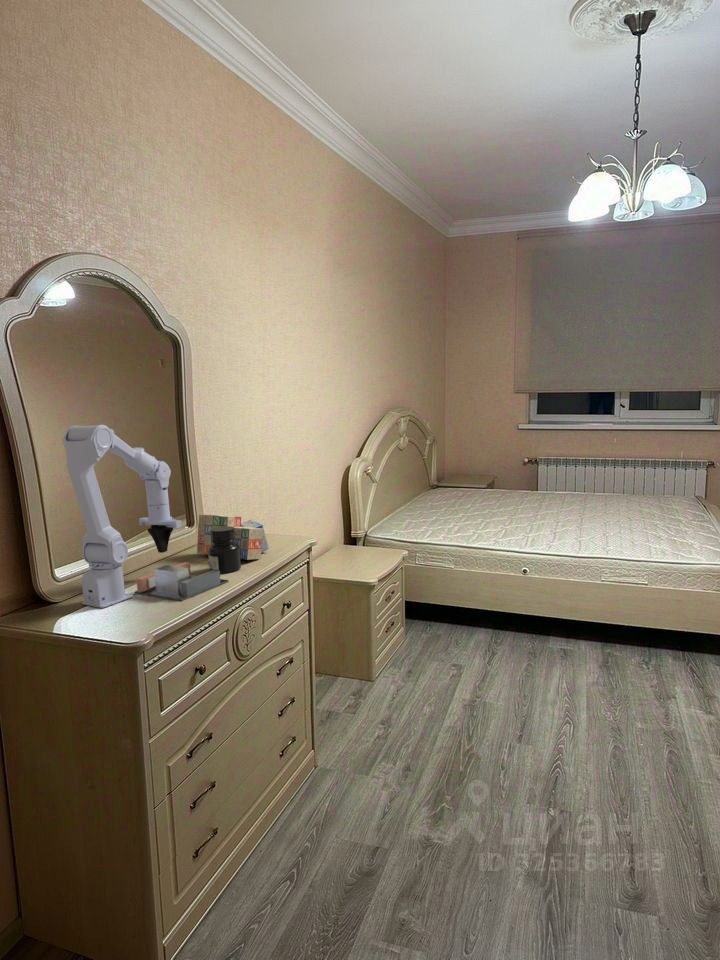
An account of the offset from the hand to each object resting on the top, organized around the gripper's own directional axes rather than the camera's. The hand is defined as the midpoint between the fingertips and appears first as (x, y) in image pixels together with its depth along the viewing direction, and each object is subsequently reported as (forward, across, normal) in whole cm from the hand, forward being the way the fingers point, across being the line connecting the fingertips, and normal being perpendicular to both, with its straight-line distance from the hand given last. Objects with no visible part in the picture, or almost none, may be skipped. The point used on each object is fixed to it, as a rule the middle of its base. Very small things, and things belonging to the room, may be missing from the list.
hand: (162, 551), depth 187 cm
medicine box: (+6, -8, -32) cm, 33 cm away
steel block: (+6, -14, +11) cm, 19 cm away
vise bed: (+7, -13, +6) cm, 16 cm away
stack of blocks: (+7, -4, -22) cm, 23 cm away
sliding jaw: (+6, -7, +6) cm, 11 cm away
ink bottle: (+7, -12, -12) cm, 18 cm away
